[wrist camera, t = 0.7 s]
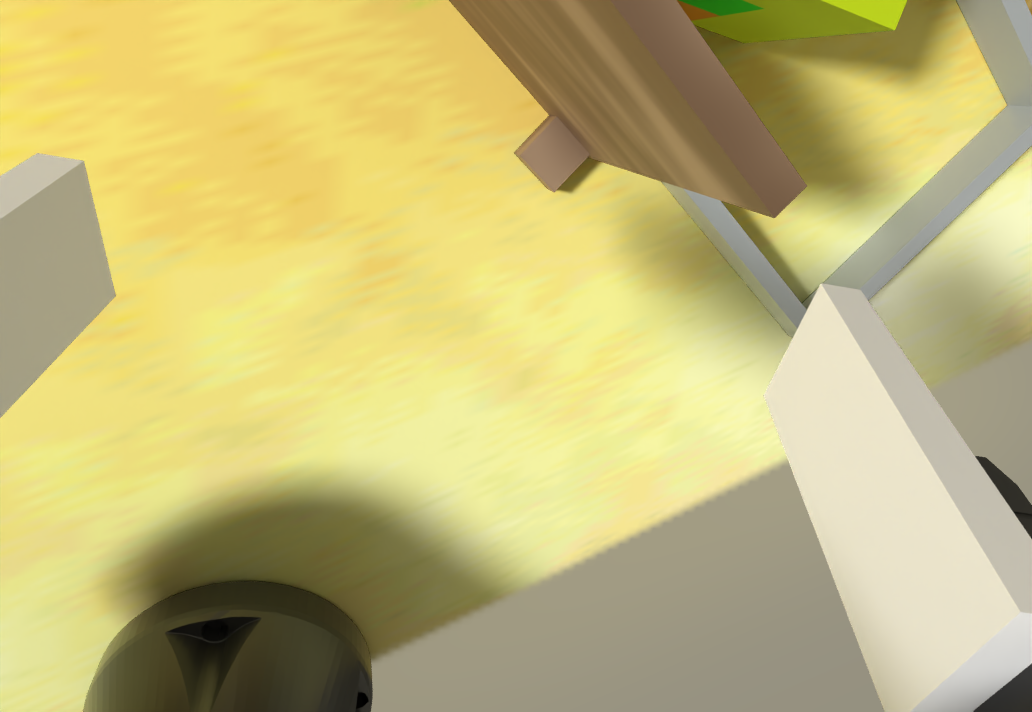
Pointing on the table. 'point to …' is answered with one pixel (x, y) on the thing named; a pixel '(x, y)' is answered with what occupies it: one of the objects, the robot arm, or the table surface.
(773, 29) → the puzzle toy
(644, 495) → the table surface
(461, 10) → the screen
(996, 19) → the corral
